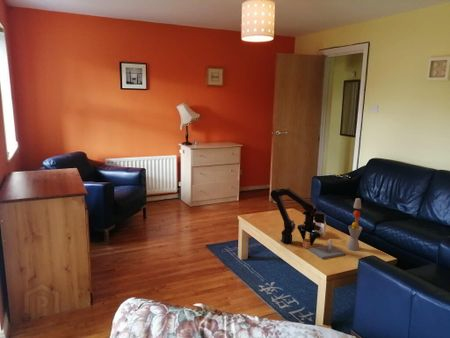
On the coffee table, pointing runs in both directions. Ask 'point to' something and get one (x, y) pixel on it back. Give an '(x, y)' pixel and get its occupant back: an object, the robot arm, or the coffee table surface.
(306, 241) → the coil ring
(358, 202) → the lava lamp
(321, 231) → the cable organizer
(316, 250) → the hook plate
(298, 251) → the coffee table surface
